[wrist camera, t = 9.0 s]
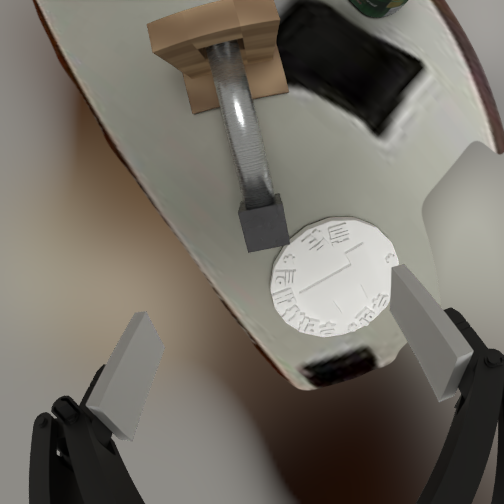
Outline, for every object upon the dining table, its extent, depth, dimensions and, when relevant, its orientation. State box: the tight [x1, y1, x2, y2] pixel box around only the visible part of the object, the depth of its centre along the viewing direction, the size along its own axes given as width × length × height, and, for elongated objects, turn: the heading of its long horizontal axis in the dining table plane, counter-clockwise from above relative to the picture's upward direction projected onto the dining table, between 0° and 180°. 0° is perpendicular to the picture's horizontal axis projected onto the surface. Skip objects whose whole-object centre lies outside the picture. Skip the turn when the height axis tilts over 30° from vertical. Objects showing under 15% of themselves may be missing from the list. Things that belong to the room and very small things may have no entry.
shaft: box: [205, 39, 290, 253], centre depth 24 cm, size 21×4×4 cm, turn 13°
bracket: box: [147, 0, 289, 114], centre depth 22 cm, size 14×12×15 cm
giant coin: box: [270, 217, 399, 337], centre depth 40 cm, size 20×20×3 cm
